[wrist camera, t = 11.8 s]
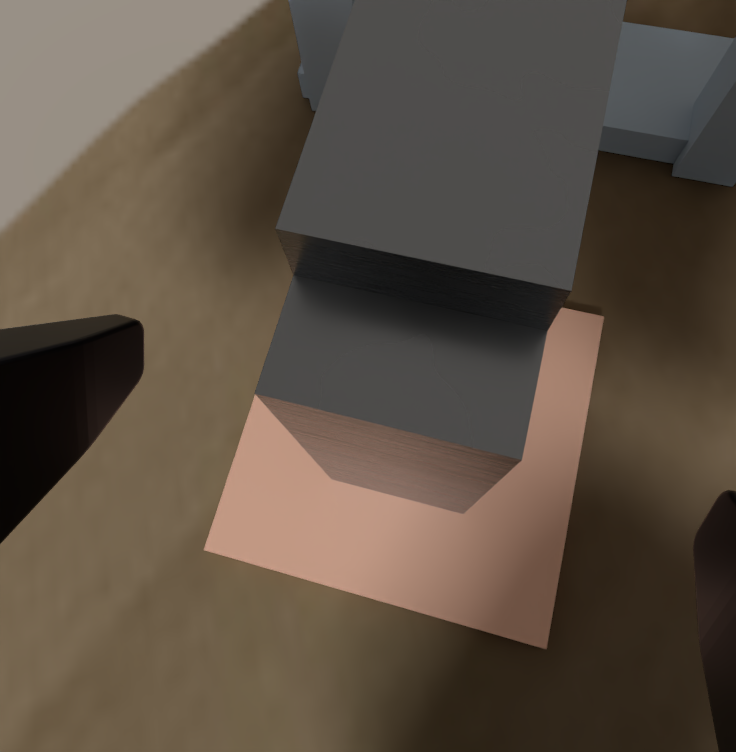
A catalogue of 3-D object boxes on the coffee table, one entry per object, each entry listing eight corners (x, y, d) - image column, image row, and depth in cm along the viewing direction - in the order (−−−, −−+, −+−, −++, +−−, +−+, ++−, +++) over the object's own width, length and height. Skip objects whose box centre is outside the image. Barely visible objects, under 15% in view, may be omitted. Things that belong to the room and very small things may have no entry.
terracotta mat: (600, 321, 20) (604, 316, 19) (543, 647, 17) (546, 649, 17) (304, 257, 21) (302, 251, 21) (208, 549, 18) (203, 549, 18)
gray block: (513, 287, 20) (631, -27, 9) (463, 514, 18) (543, 440, 7) (392, 261, 20) (376, -63, 10) (331, 479, 18) (228, 364, 8)
